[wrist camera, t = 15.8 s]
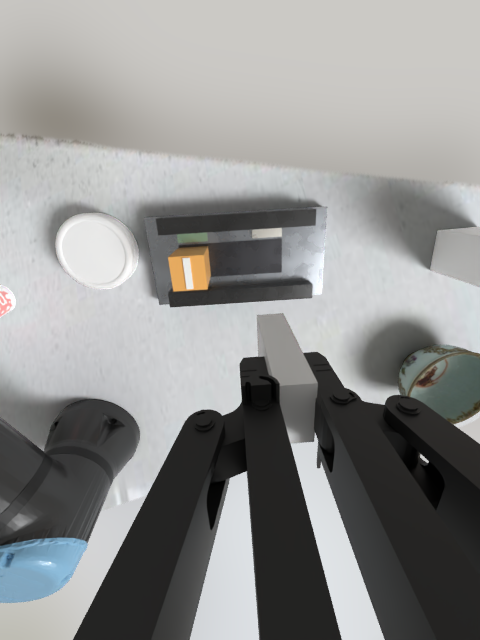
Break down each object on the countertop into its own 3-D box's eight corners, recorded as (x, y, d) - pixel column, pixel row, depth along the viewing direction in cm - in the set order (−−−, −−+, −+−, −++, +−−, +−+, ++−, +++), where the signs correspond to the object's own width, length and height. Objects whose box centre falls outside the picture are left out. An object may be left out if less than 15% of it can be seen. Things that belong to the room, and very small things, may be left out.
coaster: (61, 268, 40) (47, 274, 37) (74, 199, 37) (60, 199, 34) (130, 293, 42) (121, 301, 39) (148, 230, 39) (141, 233, 35)
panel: (162, 300, 42) (156, 309, 39) (147, 217, 38) (139, 218, 34) (317, 290, 43) (326, 298, 39) (322, 206, 38) (332, 206, 34)
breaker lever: (182, 276, 39) (173, 291, 32) (178, 247, 37) (167, 257, 31) (210, 275, 39) (207, 289, 32) (208, 245, 37) (203, 255, 31)
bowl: (423, 404, 53) (455, 437, 45) (366, 381, 50) (390, 412, 43) (474, 346, 48) (519, 372, 41) (414, 317, 45) (450, 339, 38)
